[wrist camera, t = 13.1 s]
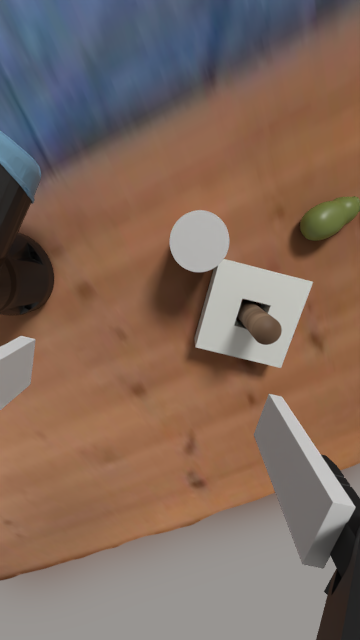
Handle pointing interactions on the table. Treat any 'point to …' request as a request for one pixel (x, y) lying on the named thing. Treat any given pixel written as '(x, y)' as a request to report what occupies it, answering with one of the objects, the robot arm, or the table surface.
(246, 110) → the table surface
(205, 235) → the grey cylinder peg
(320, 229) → the pear
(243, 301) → the walnut dowel
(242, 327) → the socket block
